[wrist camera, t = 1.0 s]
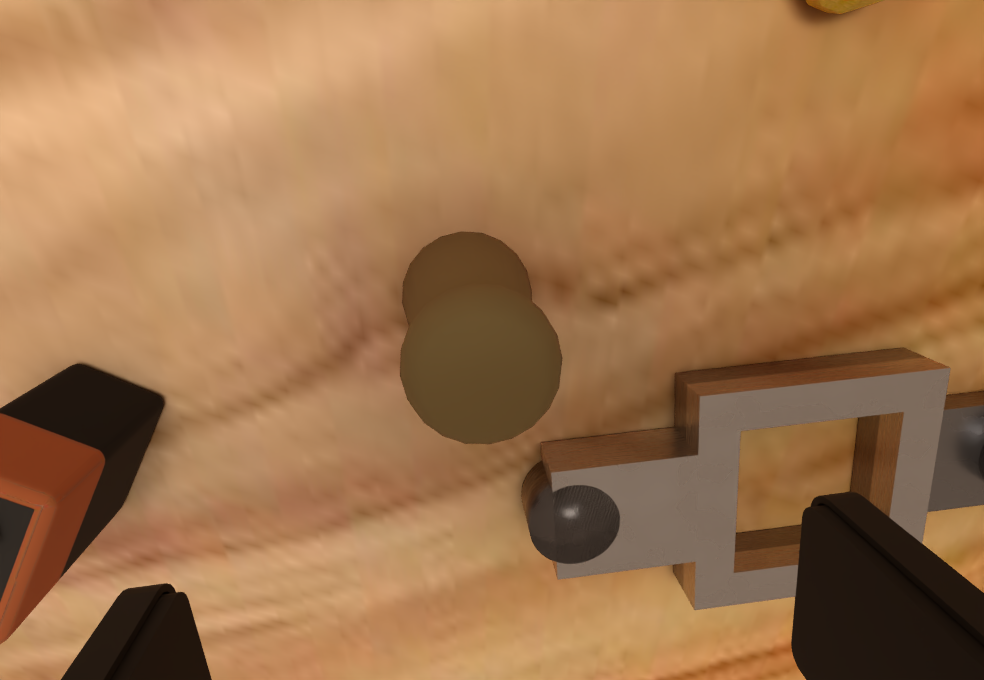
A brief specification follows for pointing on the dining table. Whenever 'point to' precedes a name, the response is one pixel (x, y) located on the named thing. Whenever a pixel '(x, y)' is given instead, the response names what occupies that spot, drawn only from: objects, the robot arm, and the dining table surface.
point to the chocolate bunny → (840, 5)
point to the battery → (64, 477)
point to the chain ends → (715, 467)
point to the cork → (476, 341)
